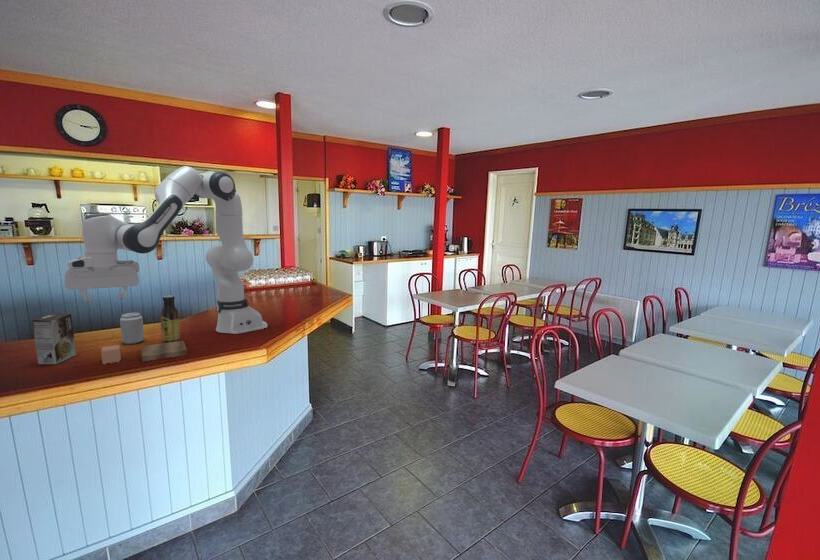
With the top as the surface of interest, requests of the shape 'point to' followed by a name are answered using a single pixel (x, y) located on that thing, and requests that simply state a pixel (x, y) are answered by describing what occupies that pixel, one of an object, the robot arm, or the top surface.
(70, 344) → the coffee box
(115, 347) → the cube
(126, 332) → the can
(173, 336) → the sauce bottle
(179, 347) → the serving board
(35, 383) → the top surface
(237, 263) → the robot arm
